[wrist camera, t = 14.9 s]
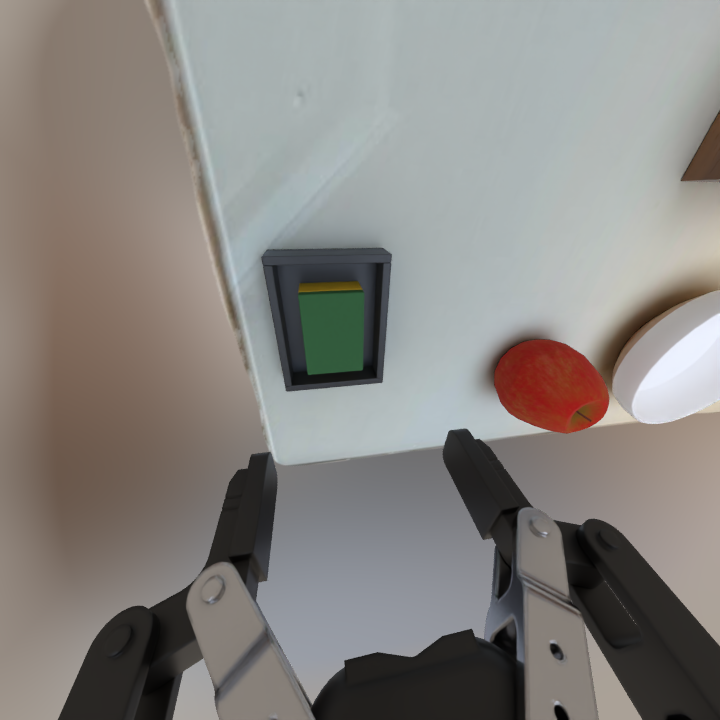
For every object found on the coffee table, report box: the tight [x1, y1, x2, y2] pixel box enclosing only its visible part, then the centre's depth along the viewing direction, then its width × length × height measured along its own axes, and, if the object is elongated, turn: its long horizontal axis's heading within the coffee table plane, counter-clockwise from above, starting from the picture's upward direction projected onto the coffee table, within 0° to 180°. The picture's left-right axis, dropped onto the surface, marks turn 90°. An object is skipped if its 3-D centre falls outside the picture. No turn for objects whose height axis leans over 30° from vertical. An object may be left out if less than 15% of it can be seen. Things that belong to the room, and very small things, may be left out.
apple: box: [494, 339, 609, 433], centre depth 30 cm, size 10×10×10 cm
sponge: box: [298, 281, 364, 375], centre depth 25 cm, size 8×6×4 cm
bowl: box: [612, 290, 720, 424], centre depth 34 cm, size 20×20×6 cm
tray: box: [261, 248, 392, 391], centre depth 25 cm, size 13×10×3 cm
